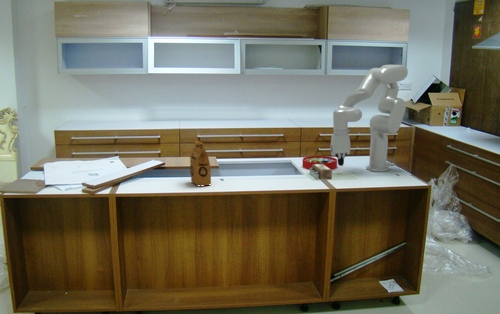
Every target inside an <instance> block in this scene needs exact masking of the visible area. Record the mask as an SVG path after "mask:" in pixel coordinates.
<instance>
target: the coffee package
mask: <svg viewBox="0 0 500 314" xmlns="http://www.w3.org/2000/svg"><path fill="white" fill-rule="evenodd" d="M194 145H195V146H194V147H193V148H192V151H191V153H190V156H189V157H190V158H189V159H190V162H189V163H190V164H189V166H190V167H189V168H190V170H189V174H190V181H191V182H192V183H193V184H194V183H195V184H196V185H195V184H194V185H195V186H197V185H209V184H211V185H212V175H211V174H212V171H211V168H212V167H211V163H210V158H209V156H208V155H209V154H208V153H207V151H206V148H205V146H204V144H203V142H201V141H200V140H199V141H198V140H195V141H194Z"/></svg>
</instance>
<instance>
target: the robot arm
mask: <svg viewBox="0 0 500 314" xmlns="http://www.w3.org/2000/svg"><path fill="white" fill-rule="evenodd" d="M408 72H409V71H408V67H406V66H405V65H403V64H384V65H381V67H373V68H371V69H369V70H368V72H367V73H366V75H365V76H364V78H363V79H362V81H361V83H360V84H359V86H358V88H356V90H354V91H353V92H352V93H350V94H349V95H347V96H346V97H345V98H344V99H343V101H342V102H341V104H340V105H339V107H338V108H337V109H334V110H333V113H332V114H333V115H332V119H333V124H332V125H333V126H332V127H333V128H332V129H333V132H332V133H333V134H331V140H330V149H329V150H330V153H331V154H330V155H331V157H335V158H336V159H337V166H339V167H340V166H342V167H344V164H345V159H346V158H345V157H347V155H351V139H350V134H349V132H351V129H350V128H349V127H348V126H349V125H348V124H349V123H355V122H359V121H361V119H362V117H363V112H362V110H361V109H360V108H358V107H354V106H355V105H357V104H358V103H361V102H363V101H366V100H369V99H370V98H371V97H372V96H373V95H374V93H375V92H376V89H377V88H378V86H379V85H383V89H382V91H381V95H380V98H379V100H378V103H377V104H378V105H377V110H378V112H379V113H381V114H376V115H372V117H371V118H370V120H369V129H370V144H369V145H370V146H369V164H368V165H366V167H365V168H366V170H367V171H371V172H376V173H377V172H383V173H384V172H388V171H389V170H390V168H389V167H395V162H389V161H387V159H388V158H387V157H388V146H389V143H388V142H389V140H388V139H389V138H388V135H387V134H390V135H392V134H393V135H394V134H396V133H398V131H399V129H400V126H401V125H402V122H403V119H404V115H405V112H406V107H407V106H406V102H405V100H404V99H403V98H401V97H398V95H399V91H400V90H399V89H400V87H399V84H398V82H401V81H404V80H405V79H406V78H407V77H408V74H409V73H408ZM383 114H387V115H383Z"/></svg>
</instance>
